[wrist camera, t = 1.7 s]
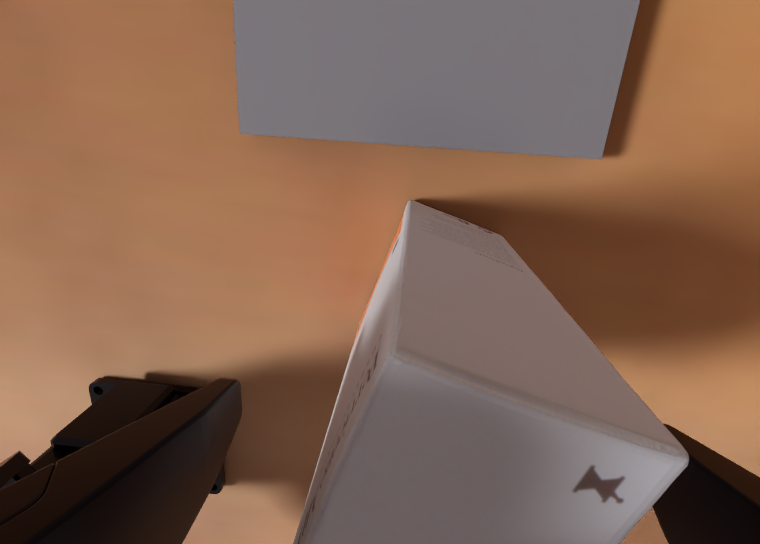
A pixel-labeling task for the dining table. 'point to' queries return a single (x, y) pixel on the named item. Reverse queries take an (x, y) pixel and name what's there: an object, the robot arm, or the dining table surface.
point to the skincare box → (480, 410)
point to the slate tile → (434, 72)
